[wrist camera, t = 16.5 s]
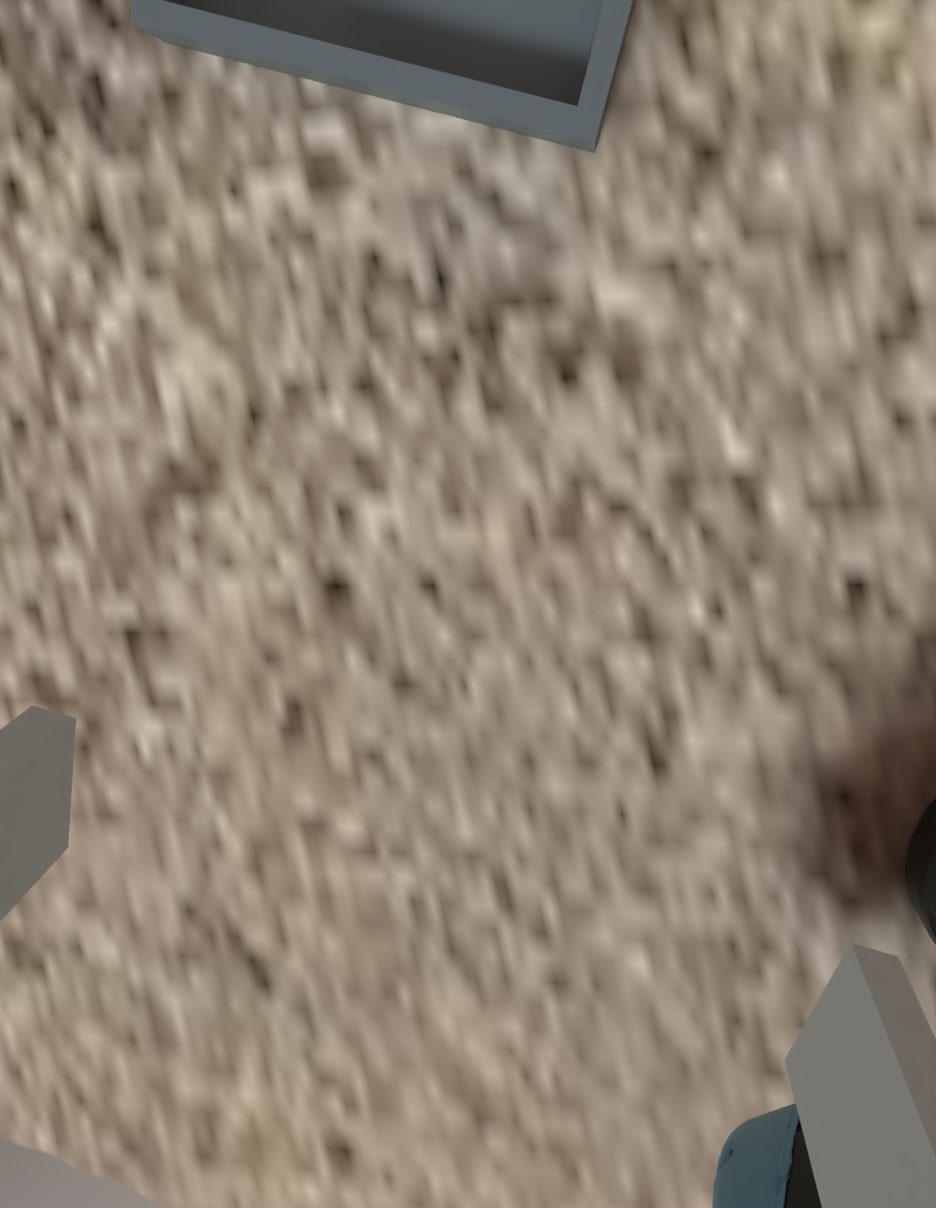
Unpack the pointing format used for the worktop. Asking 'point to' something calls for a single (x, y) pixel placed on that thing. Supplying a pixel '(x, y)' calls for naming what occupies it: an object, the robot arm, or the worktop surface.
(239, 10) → the tray
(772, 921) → the worktop surface
